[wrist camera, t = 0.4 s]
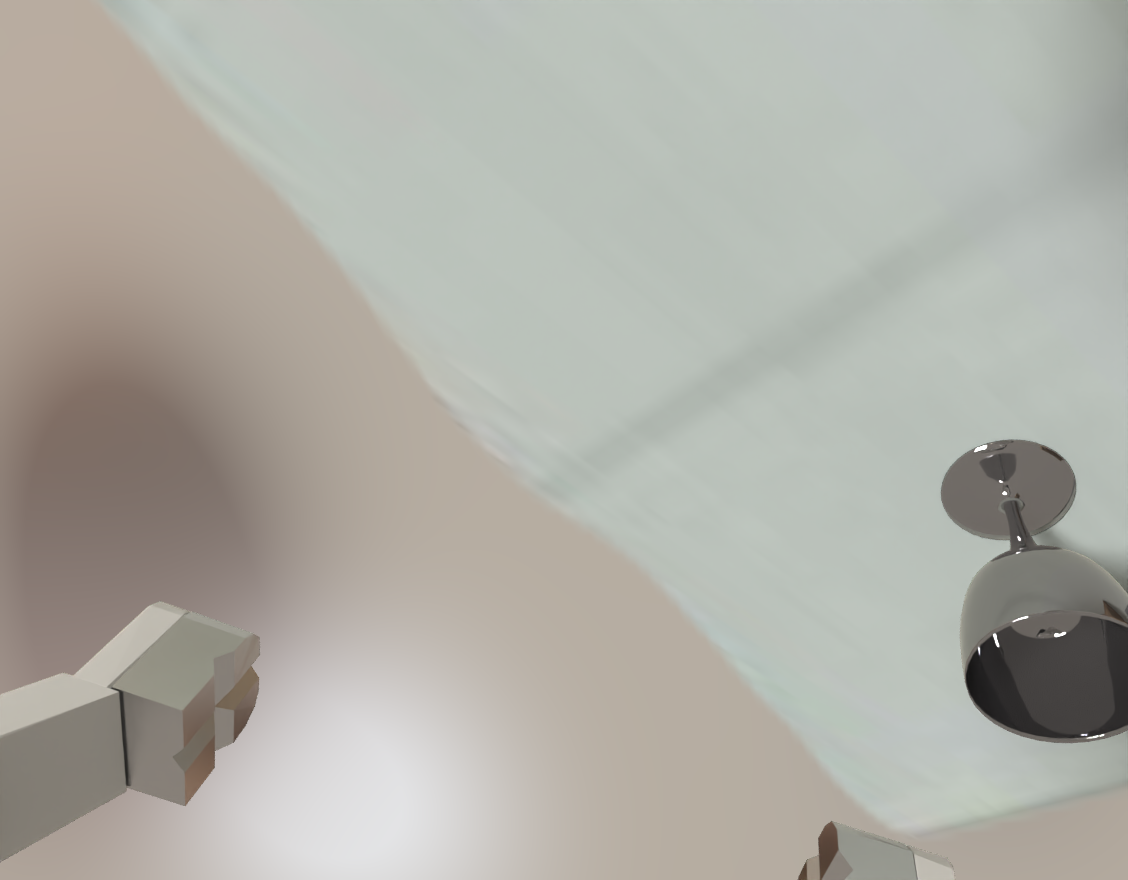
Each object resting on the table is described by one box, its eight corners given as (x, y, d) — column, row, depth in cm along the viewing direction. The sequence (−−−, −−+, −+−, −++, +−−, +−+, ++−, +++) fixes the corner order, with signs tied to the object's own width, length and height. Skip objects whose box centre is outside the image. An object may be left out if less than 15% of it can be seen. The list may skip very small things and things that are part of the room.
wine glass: (1075, 546, 50) (1153, 751, 38) (931, 543, 53) (960, 735, 41) (1092, 431, 47) (1184, 618, 34) (935, 434, 49) (969, 610, 37)
